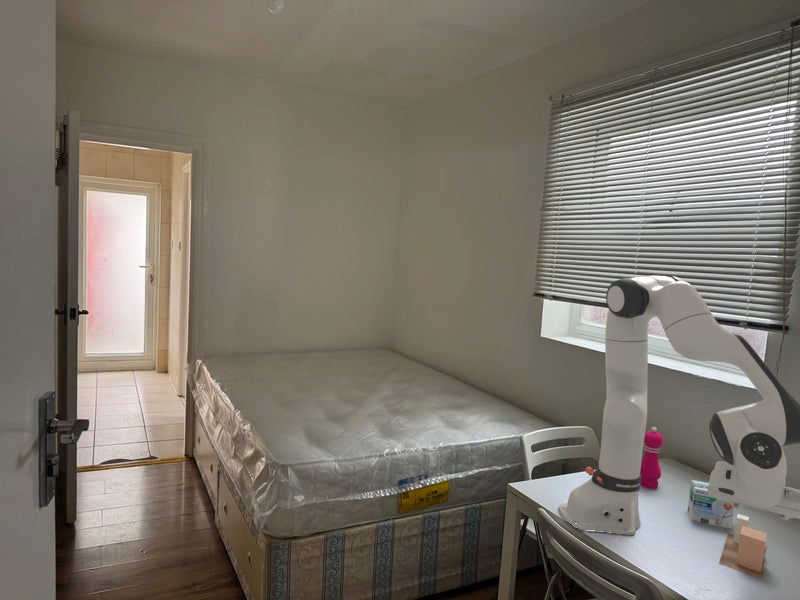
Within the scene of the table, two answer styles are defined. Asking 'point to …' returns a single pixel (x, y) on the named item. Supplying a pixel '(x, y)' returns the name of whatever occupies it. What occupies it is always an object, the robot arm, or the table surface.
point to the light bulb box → (708, 507)
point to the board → (730, 557)
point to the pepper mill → (651, 459)
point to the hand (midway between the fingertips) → (759, 510)
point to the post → (740, 526)
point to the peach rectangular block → (751, 548)
